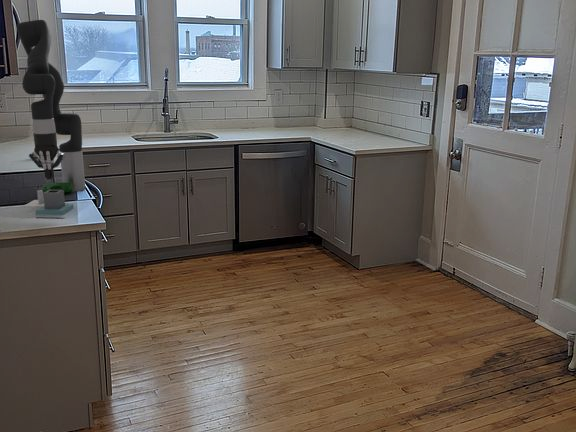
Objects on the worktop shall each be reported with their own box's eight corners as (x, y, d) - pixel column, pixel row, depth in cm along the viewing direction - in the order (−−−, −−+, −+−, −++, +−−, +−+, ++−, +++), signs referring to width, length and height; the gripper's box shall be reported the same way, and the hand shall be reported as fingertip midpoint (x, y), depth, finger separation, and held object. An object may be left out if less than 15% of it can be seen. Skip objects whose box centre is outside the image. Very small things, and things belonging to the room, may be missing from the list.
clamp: (49, 208, 248) (37, 191, 244) (51, 202, 253) (39, 184, 249) (75, 197, 248) (64, 179, 243) (77, 191, 253) (66, 173, 248)
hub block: (48, 211, 227) (46, 190, 225) (74, 211, 227) (72, 190, 225) (36, 218, 218) (33, 196, 216) (63, 218, 217) (61, 197, 215)
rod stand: (34, 203, 239) (33, 187, 237) (59, 203, 238) (57, 187, 237) (23, 209, 229) (21, 193, 228) (48, 210, 229) (46, 193, 227)
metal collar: (51, 205, 224) (49, 189, 223) (65, 205, 224) (63, 189, 222) (44, 208, 219) (43, 193, 217) (59, 209, 219) (57, 193, 217)
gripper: (67, 130, 215) (71, 177, 220) (31, 129, 216) (36, 176, 220) (58, 133, 208) (63, 181, 213) (21, 132, 208) (27, 181, 213)
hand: (49, 179), depth 217 cm, fingers closed
